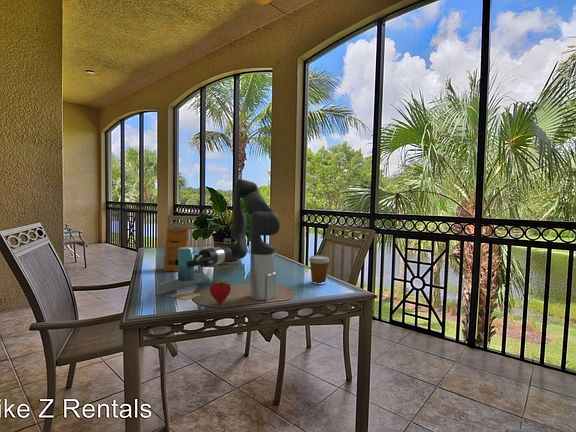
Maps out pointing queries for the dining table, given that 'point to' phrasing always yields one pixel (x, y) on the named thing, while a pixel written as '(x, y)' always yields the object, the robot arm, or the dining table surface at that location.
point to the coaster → (185, 295)
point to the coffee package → (174, 247)
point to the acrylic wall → (176, 284)
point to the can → (185, 263)
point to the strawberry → (220, 290)
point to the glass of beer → (319, 268)
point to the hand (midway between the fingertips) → (181, 263)
